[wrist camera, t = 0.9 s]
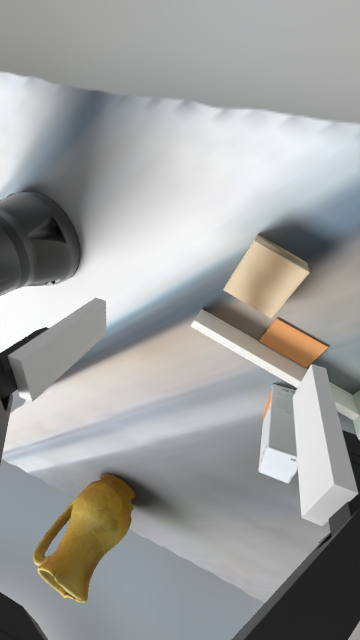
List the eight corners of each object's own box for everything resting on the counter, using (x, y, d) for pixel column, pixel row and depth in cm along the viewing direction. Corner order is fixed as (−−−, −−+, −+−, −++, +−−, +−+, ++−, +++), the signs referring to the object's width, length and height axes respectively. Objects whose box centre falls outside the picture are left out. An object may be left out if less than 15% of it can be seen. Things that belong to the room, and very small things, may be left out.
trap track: (198, 314, 40) (184, 336, 34) (276, 174, 28) (274, 172, 22) (354, 403, 38) (366, 443, 32) (510, 292, 26) (575, 323, 20)
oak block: (229, 278, 36) (223, 289, 32) (257, 233, 32) (254, 240, 28) (272, 303, 35) (271, 318, 31) (306, 261, 31) (309, 272, 27)
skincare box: (271, 382, 41) (268, 445, 31) (299, 390, 40) (304, 458, 30) (263, 407, 44) (257, 472, 34) (288, 415, 43) (290, 485, 33)
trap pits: (258, 340, 38) (258, 341, 38) (354, 220, 27) (355, 220, 27) (348, 391, 37) (349, 392, 37) (486, 286, 26) (488, 287, 26)
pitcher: (131, 511, 83) (78, 616, 63) (88, 477, 85) (22, 567, 64) (150, 494, 74) (95, 610, 53) (101, 456, 76) (29, 553, 55)
